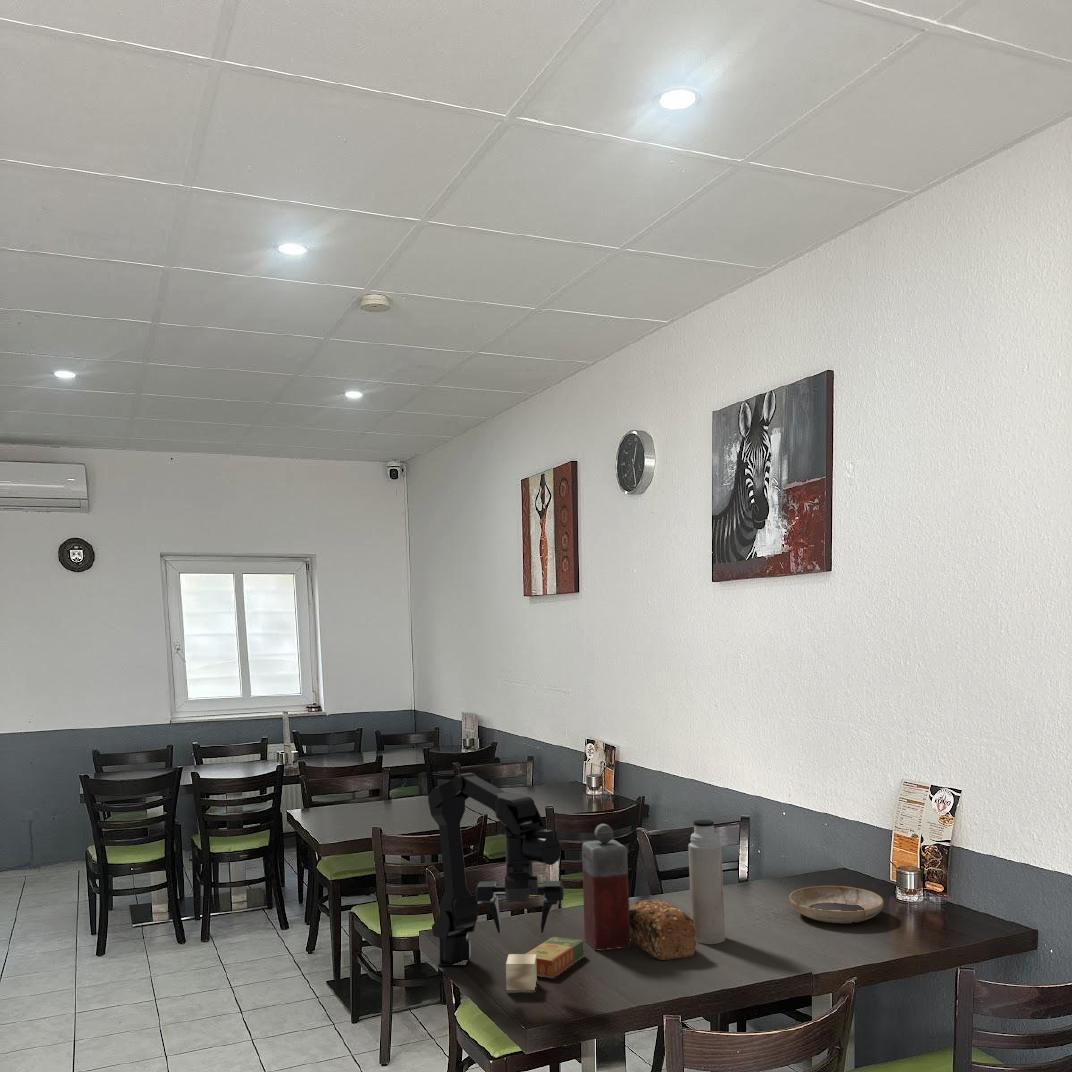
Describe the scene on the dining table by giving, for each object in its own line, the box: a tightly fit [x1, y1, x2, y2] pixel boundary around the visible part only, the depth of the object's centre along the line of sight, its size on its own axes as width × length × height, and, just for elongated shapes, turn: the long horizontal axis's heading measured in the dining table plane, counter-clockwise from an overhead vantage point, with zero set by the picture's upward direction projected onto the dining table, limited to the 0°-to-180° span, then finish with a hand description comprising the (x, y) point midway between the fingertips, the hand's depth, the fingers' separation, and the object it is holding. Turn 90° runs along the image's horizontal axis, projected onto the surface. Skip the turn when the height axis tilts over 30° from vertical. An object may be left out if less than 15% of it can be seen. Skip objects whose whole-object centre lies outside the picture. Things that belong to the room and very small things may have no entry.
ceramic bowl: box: [788, 885, 884, 924], centre depth 246 cm, size 23×24×5 cm
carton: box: [525, 936, 585, 977], centre depth 215 cm, size 8×16×4 cm, turn 152°
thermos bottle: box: [688, 819, 726, 945], centre depth 231 cm, size 8×8×28 cm
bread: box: [629, 899, 697, 961], centre depth 225 cm, size 19×11×10 cm, turn 17°
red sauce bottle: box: [581, 823, 631, 950], centre depth 231 cm, size 9×11×28 cm
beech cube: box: [505, 953, 538, 990], centre depth 201 cm, size 6×6×6 cm
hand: (520, 932), depth 202 cm, fingers open, 9 cm apart
